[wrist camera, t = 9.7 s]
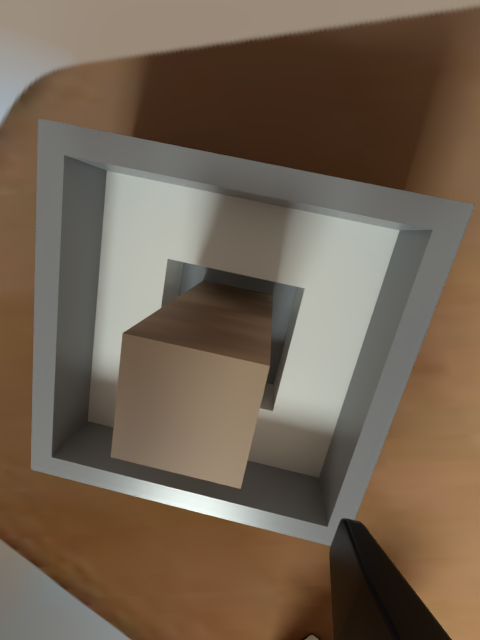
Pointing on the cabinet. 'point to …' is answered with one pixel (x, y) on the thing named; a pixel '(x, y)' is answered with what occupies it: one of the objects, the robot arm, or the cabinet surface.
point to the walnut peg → (195, 383)
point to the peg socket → (243, 272)
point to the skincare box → (311, 638)
